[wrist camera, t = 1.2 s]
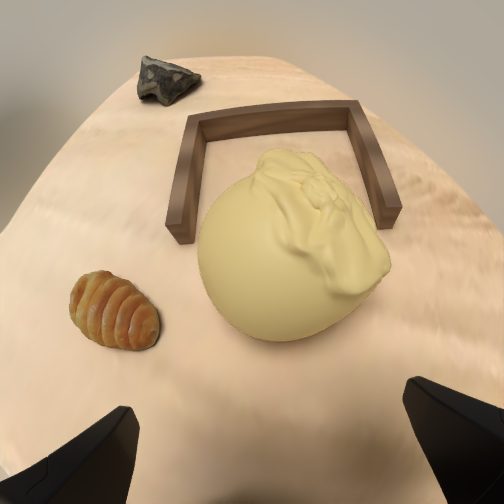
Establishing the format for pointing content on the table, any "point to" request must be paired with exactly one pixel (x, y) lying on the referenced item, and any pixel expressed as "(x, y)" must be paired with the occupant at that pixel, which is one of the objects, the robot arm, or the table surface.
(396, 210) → the frame
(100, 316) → the pastry
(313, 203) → the sculpture
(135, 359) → the table surface
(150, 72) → the fossil
